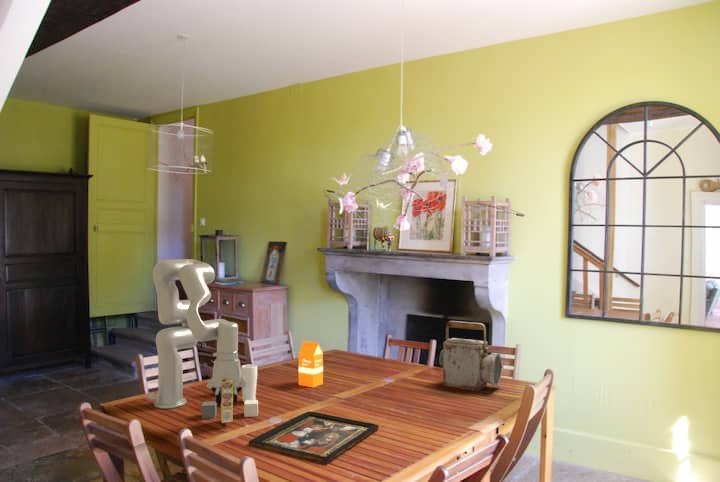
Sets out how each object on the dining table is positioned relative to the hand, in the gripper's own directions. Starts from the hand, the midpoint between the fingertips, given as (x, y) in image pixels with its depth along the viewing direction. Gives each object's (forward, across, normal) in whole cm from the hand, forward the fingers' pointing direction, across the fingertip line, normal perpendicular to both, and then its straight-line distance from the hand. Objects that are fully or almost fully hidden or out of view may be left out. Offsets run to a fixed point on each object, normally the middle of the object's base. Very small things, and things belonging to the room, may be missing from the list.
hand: (226, 404), depth 201 cm
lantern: (+6, +107, +39) cm, 114 cm away
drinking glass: (+8, +7, +26) cm, 28 cm away
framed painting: (+7, +33, -18) cm, 38 cm away
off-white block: (+7, +9, +9) cm, 15 cm away
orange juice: (+8, +34, +50) cm, 61 cm away
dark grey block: (+8, -7, +9) cm, 14 cm away
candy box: (+6, 0, 0) cm, 6 cm away
